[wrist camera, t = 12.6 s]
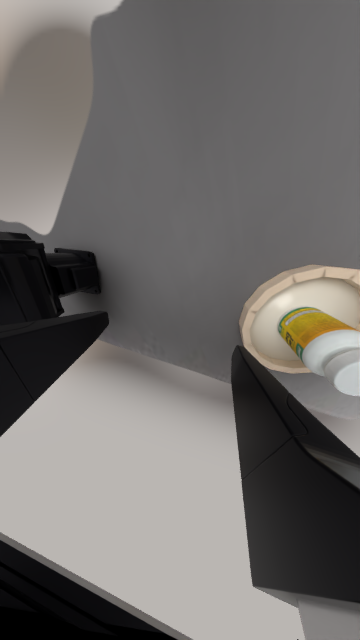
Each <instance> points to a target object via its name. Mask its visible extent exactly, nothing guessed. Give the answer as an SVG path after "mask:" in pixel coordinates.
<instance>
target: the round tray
mask: <svg viewBox="0 0 360 640" xmlns="http://www.w3.org/2000/svg"><path fill="white" fill-rule="evenodd" d="M300 306H309V307H314V308H317V309H319V310H321V311H323V312H325V313H326V314H328V315H330V316H332V317H334V318H336V319H338V320H339V321H341V322H343V323H345V324H347V325H349V326H351V327H353V328H355V329H356V330H358V331H360V270H357V269H350V268H342V267H332V266H322V265H312V264H311V265H307V266H303V267H299V268H296V269H292V270H288V271H284V272H282V273H280V274H278V275H277V276H275V277H273V278H272V279H270V280H269V281H267V282H265V283H264V284H262V285H260V286H259V287H258V288H257V290H256V291H255V292H254V293H253V294H252V296H251V297H250V298H249V299H248V300H247V302H246V303H245V304H244V307H243V310H242V313H241V316H240V319H239V327H240V334H241V339H242V342H243V344H244V347H245V348H246V349H247V350H248V351H249V352H250V353H251V354H252V355H253V356H254V357H255V358H256V359H257V360H258V361H259V362H260V363H261V364H262V365H264V366H266V367H267V368H269V369H271V370H276V371H281V372H287V373H308V372H312V371H311V370H309V369H308V368H307V367H306V366H305V365H304V364H303V362H302V361H301V360H300V358H299V357H298V356H297V355H296V353H295V352H294V351H293V350H292V349H291V348H290V346H289V345H288V344H287V343H286V342H285V340H284V339H283V338H282V337H281V335H280V334H279V332H278V330H277V325H278V321H279V319H280V318H281V316H282V315H283V314H284V313H286V312H287V311H289V310H291V309H293V308H296V307H300Z"/></svg>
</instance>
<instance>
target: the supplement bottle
mask: <svg viewBox="0 0 360 640" xmlns="http://www.w3.org/2000/svg"><path fill="white" fill-rule="evenodd" d="M277 330H278V332H279V334H280V335H281V337H282V338H283V339H284V340H285V342H286V343H287V344H288V345H289V346H290V348H291V349H292V350H293V351H294V352H295V353H296V355H297V356H298V357H299V358H300V360H301V361H302V362H303V364H304V365H305V366H306V367H307V368H308V369H309V370H311V371H312V372H314V373H316V374H318V375H320V376H323V377H326V379H327V380H328V381H329V382H330V383H331V384H332V385H333V386H334V387H335V388H336V389H337V390H339V391H340V392H342V393H344V394H347V395H351V396H360V331H358V330H356V329H355V328H353V327H351V326H349V325H347V324H345V323H343V322H341V321H339V320H338V319H336V318H334V317H332V316H330V315H328V314H326V313H325V312H323V311H321V310H319V309H317V308H314V307H309V306H300V307H296V308H293V309H291V310H289V311H287V312H286V313H284V314H283V315H282V316H281V318H280V319H279V321H278V325H277Z"/></svg>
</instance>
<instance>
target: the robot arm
mask: <svg viewBox="0 0 360 640" xmlns="http://www.w3.org/2000/svg"><path fill="white" fill-rule="evenodd" d="M44 248H45V247H44V244H43V243H38V242H35V241H34V240H32V239H31V238H30V237H29V236H28V235H27V234H23V233H12V232H1V231H0V437H1V436H2V435H3V434H4V433H5V432H6V431H7V430H8V429H9V428H10V427H11V426H12V425H13V424H14V422H16V421H17V419H19V418H20V417H21V416H22V415H23V413H24V412H25V411H26V410H27V409H28V408H29V407H30V406H31V405H32V404H33V403H34V402H35V401H36V400H37V399H38V398H39V397H40V396H41V395H42V394H43V393H44V392H45V391H46V390H47V389H48V388H49V387H50V386H51V385H52V384H53V383H54V382H55V381H56V380H57V379H58V378H59V377H60V376H61V375H62V374H63V373H64V372H65V371H66V370H67V369H68V368H69V367H70V366H71V365H72V364H73V363H74V362H75V361H76V360H77V359H78V358H79V357H80V356H81V355H82V354H83V353H84V352H85V351H86V350H87V349H88V348H89V347H90V346H91V345H92V344H93V343H94V342H95V341H96V339H97V338H98V337H99V336H100V335H101V333H102V332H103V331H104V330H105V328H106V327H107V326H108V324H109V318H108V313H107V312H105V311H96V312H89V313H83V314H76V315H70V316H63V317H59V316H60V315H61V314H62V313H64V309H63V308H62V305H61V302H60V299H59V298H61V297H65V296H68V295H71V294H74V293H77V292H86V293H92V294H99V293H100V292H101V291H100V286H99V280H98V275H97V269H96V264H95V259H94V254H93V253H92V252H90V251H80V250H71V249H62V248H55V249H54V252H55V253H45V251H44ZM58 251H59V252H58ZM89 254H90V255H91V256H90V255H89ZM96 290H97V291H98V292H97V291H96ZM231 383H232V393H233V401H234V402H233V403H234V412H235V422H236V432H237V441H238V450H239V460H240V470H241V479H242V490H243V500H244V510H245V519H246V529H247V539H248V548H249V558H250V568H251V577H252V584H253V587H255V588H257V589H259V590H261V591H263V592H265V593H267V594H270V595H272V596H274V597H276V598H278V599H280V600H282V601H284V602H287V603H289V604H291V605H293V606H295V607H297V608H299V613H300V618H301V622H302V626H303V631H304V635H305V640H360V457H358V456H357V455H356V454H355V453H354V452H353V451H352V450H350V448H348V447H347V446H346V445H345V444H344V443H343V442H342V441H341V440H339V439H338V438H337V437H336V436H335V435H334V434H333V433H332V432H331V431H330V430H329V429H327V428H326V427H325V426H324V425H323V424H322V423H321V422H320V421H319V420H318V419H317V418H315V417H314V416H313V415H312V414H311V413H310V412H309V411H308V410H307V409H306V408H305V407H304V406H303V405H302V404H301V403H300V402H299V401H298V400H297V399H296V398H295V397H294V396H293V395H292V394H291V393H289V391H288V390H287V389H286V388H285V387H284V386H283V385H282V384H281V383H280V382H279V381H278V380H277V379H276V378H275V377H274V376H273V375H272V374H271V373H270V372H269V371H268V370H267V369H266V368H265V367H264V366H263V365H262V364H261V363H260V362H259V361H258V360H257V359H256V358H255V357H254V356H253V355H252V354H251V353H250V352H249V351H248V350H247V349H246V348H245V347H243V346H239V345H237V346H236V348H235V350H234V352H233V355H232V366H231ZM0 640H192V639H191V638H189V637H187V636H185V635H184V634H182V633H180V632H178V631H177V630H174V629H173V628H171V627H169V626H168V625H166V624H164V623H162V622H160V621H158V620H157V619H155V618H153V617H151V616H150V615H148V614H146V613H144V612H142V611H141V610H139V609H137V608H135V607H133V606H132V605H130V604H128V603H126V602H124V601H122V600H121V599H119V598H117V597H116V596H114V595H112V594H110V593H108V592H107V591H105V590H103V589H101V588H99V587H98V586H96V585H94V584H92V583H90V582H88V581H87V580H85V579H83V578H81V577H79V576H78V575H76V574H74V573H72V572H71V571H68V570H67V569H65V568H63V567H62V566H59V565H58V564H56V563H54V562H53V561H51V560H49V559H47V558H45V557H44V556H42V555H40V554H38V553H36V552H35V551H33V550H31V549H29V548H27V547H26V546H24V545H22V544H20V543H18V542H17V541H15V540H13V539H11V538H9V537H8V536H6V535H4V534H2V533H0ZM297 640H298V639H297Z"/></svg>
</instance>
